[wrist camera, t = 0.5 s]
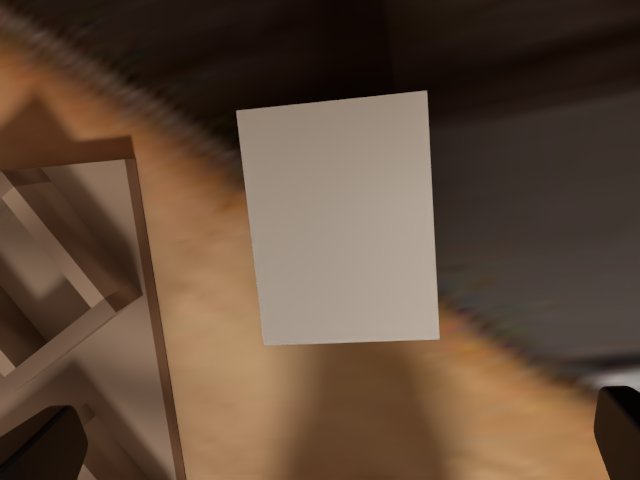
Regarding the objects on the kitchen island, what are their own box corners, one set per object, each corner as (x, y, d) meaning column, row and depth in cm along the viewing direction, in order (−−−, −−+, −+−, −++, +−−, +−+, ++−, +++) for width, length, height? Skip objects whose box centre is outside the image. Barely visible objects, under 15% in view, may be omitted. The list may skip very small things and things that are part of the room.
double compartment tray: (198, 557, 28) (172, 614, 25) (34, 553, 30) (-11, 607, 26) (135, 158, 24) (93, 161, 21) (-51, 176, 25) (-118, 182, 22)
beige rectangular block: (405, 212, 23) (439, 339, 8) (339, 216, 23) (263, 345, 9) (399, 122, 22) (426, 90, 8) (332, 128, 23) (235, 110, 8)
